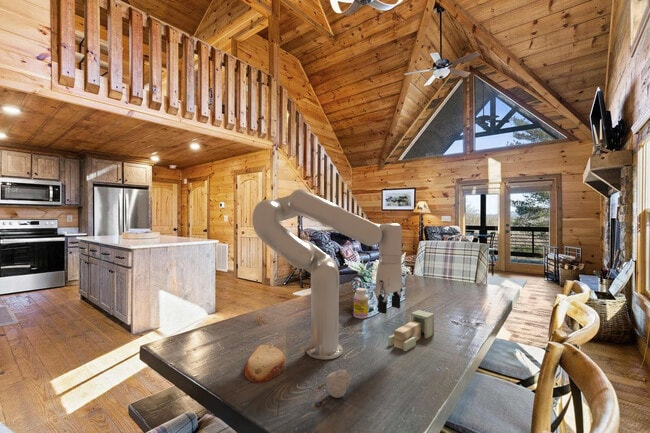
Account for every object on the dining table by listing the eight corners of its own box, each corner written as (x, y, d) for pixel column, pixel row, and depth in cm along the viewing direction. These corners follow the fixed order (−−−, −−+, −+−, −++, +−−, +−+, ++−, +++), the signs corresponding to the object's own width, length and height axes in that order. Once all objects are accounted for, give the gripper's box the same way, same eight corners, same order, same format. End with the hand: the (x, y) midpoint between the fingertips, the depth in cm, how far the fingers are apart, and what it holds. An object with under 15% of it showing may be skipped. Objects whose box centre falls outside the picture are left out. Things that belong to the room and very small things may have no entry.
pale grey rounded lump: (347, 406, 77) (347, 378, 77) (321, 399, 79) (321, 372, 79) (354, 393, 83) (354, 367, 82) (329, 387, 85) (330, 362, 85)
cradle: (405, 351, 108) (405, 342, 108) (388, 345, 113) (388, 336, 113) (415, 345, 113) (415, 337, 113) (398, 339, 118) (398, 331, 118)
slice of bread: (268, 348, 111) (268, 337, 110) (303, 364, 99) (303, 353, 99) (222, 366, 97) (222, 354, 97) (257, 388, 85) (257, 374, 85)
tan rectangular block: (402, 349, 110) (402, 332, 110) (394, 346, 112) (394, 330, 112) (420, 338, 120) (420, 322, 120) (412, 335, 122) (412, 320, 122)
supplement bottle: (351, 317, 143) (351, 289, 142) (356, 313, 148) (357, 286, 148) (365, 320, 139) (365, 291, 139) (370, 315, 145) (370, 288, 145)
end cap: (426, 338, 119) (427, 317, 119) (410, 333, 124) (411, 313, 124) (433, 334, 124) (434, 313, 124) (418, 329, 128) (418, 309, 128)
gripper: (394, 255, 115) (393, 302, 116) (366, 260, 103) (365, 312, 103) (412, 258, 110) (411, 307, 110) (385, 263, 98) (384, 318, 98)
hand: (389, 309), depth 107 cm, fingers open, 7 cm apart
